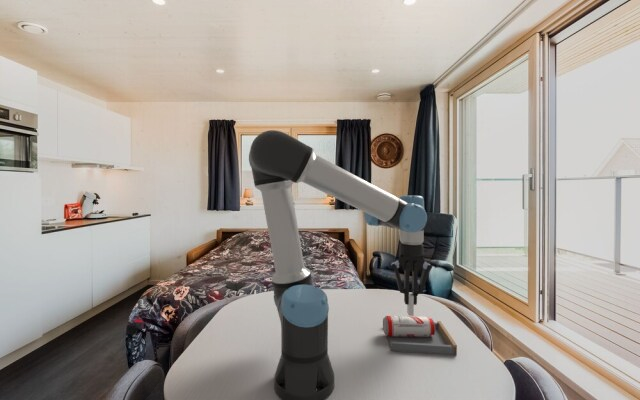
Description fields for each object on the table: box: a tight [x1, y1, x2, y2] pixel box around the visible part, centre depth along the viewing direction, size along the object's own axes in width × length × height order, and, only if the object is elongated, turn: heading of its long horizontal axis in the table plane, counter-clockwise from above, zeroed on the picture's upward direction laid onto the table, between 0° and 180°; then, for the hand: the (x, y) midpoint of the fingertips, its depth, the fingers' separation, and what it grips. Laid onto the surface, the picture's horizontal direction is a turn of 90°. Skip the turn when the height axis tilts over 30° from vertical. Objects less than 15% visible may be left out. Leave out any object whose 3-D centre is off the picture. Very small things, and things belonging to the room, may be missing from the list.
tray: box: [387, 320, 458, 356], centre depth 95 cm, size 16×19×3 cm
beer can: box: [382, 315, 436, 337], centre depth 96 cm, size 6×6×16 cm
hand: (410, 313), depth 95 cm, fingers closed
